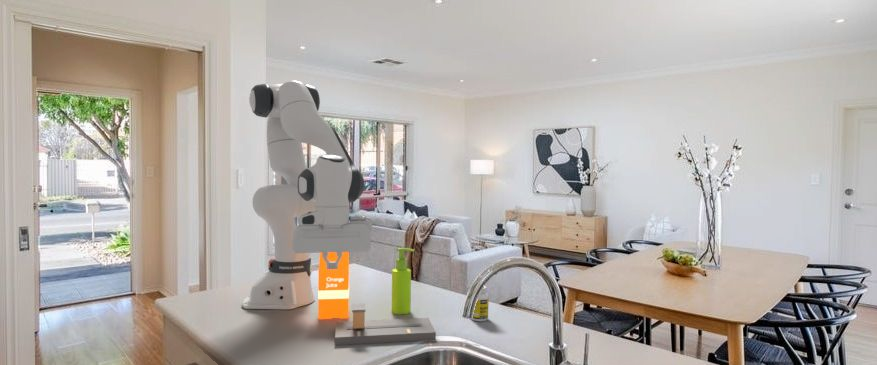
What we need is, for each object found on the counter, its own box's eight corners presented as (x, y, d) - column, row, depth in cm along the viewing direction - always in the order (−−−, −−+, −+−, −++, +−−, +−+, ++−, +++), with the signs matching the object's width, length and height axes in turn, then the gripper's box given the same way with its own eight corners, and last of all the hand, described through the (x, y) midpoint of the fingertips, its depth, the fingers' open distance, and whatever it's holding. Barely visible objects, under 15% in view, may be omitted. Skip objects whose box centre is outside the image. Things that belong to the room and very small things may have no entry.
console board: (334, 345, 123) (335, 336, 122) (336, 329, 134) (336, 321, 134) (435, 339, 127) (435, 331, 127) (428, 324, 139) (428, 317, 139)
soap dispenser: (410, 315, 147) (411, 250, 146) (389, 313, 149) (389, 249, 148) (415, 309, 153) (416, 247, 152) (394, 308, 154) (395, 246, 153)
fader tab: (352, 330, 126) (352, 310, 126) (352, 323, 132) (352, 304, 132) (365, 329, 127) (365, 309, 127) (364, 323, 132) (364, 303, 132)
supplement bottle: (480, 323, 141) (481, 290, 141) (466, 318, 145) (466, 286, 144) (491, 318, 145) (492, 286, 145) (477, 314, 149) (478, 283, 148)
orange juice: (348, 318, 144) (348, 251, 143) (317, 319, 142) (318, 252, 142) (349, 310, 151) (349, 247, 151) (320, 311, 150) (320, 247, 149)
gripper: (371, 215, 132) (371, 265, 132) (294, 215, 128) (294, 267, 129) (372, 217, 126) (372, 270, 126) (291, 218, 122) (291, 272, 122)
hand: (332, 268), depth 127 cm, fingers closed
